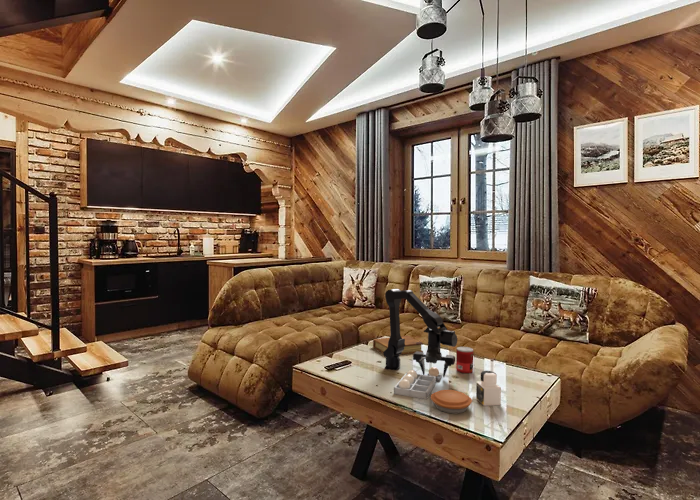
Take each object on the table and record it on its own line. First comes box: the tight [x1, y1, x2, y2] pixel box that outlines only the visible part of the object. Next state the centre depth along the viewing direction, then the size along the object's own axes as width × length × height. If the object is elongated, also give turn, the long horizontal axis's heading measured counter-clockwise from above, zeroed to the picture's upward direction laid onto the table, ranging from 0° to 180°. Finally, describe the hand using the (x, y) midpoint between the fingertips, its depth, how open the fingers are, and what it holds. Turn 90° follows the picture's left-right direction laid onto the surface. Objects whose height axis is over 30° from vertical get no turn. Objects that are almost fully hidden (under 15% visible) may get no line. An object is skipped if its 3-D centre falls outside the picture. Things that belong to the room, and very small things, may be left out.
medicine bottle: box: [475, 370, 502, 407], centre depth 156 cm, size 7×7×12 cm
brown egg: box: [428, 366, 440, 377], centre depth 183 cm, size 5×5×5 cm
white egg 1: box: [406, 369, 418, 379], centre depth 178 cm, size 5×5×5 cm
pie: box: [430, 389, 473, 414], centre depth 151 cm, size 15×16×5 cm
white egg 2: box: [402, 374, 414, 384], centre depth 172 cm, size 5×5×5 cm
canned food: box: [455, 346, 474, 374], centre depth 194 cm, size 8×8×11 cm
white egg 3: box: [398, 379, 410, 389], centre depth 166 cm, size 5×5×5 cm
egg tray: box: [393, 372, 437, 400], centre depth 171 cm, size 14×20×3 cm
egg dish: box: [427, 372, 443, 382], centre depth 183 cm, size 6×6×1 cm
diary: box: [372, 335, 424, 355], centre depth 231 cm, size 23×19×6 cm
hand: (433, 376), depth 183 cm, fingers open, 9 cm apart
